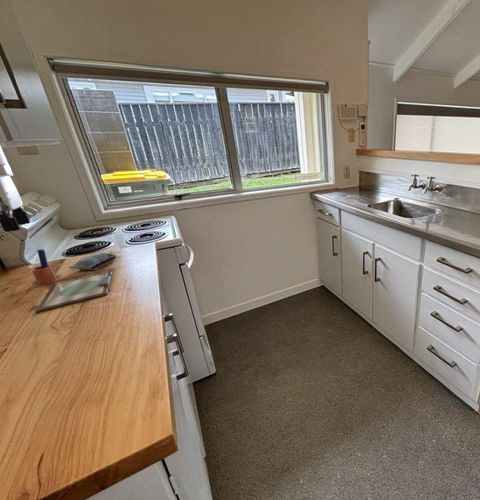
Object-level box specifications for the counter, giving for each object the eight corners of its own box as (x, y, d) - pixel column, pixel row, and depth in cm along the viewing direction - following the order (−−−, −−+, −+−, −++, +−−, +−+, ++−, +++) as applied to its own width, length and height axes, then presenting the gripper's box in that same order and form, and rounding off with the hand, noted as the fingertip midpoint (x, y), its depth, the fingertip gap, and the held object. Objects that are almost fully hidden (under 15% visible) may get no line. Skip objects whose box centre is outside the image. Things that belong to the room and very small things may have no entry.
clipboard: (35, 313, 80) (33, 309, 79) (53, 285, 95) (51, 282, 95) (107, 295, 88) (105, 291, 88) (112, 272, 104) (111, 269, 103)
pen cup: (37, 287, 95) (29, 271, 92) (41, 282, 98) (33, 267, 96) (56, 283, 97) (48, 268, 95) (59, 278, 100) (51, 263, 98)
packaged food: (71, 273, 104) (65, 261, 102) (100, 260, 115) (95, 249, 113) (92, 274, 103) (87, 261, 101) (120, 260, 114) (115, 249, 112)
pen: (44, 283, 96) (36, 250, 93) (45, 281, 98) (38, 249, 94) (51, 282, 97) (43, 250, 94) (52, 280, 98) (44, 249, 95)
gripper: (-14, 170, 88) (11, 223, 94) (-43, 175, 75) (-11, 236, 81) (20, 168, 92) (42, 219, 98) (-1, 172, 79) (26, 231, 85)
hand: (18, 227), depth 89 cm, fingers open, 9 cm apart
